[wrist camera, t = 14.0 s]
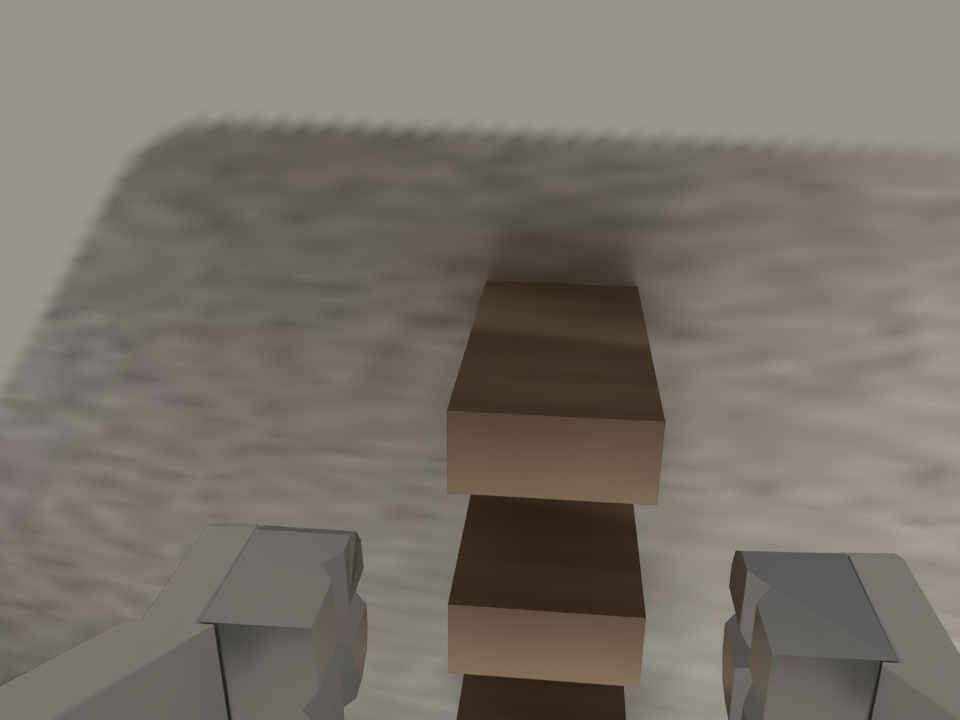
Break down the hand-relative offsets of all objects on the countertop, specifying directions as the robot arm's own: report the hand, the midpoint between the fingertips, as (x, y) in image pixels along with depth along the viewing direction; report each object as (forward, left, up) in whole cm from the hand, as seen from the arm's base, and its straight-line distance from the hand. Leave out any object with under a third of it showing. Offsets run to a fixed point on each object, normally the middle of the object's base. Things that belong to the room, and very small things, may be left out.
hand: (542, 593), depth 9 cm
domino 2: (-5, -9, -21) cm, 23 cm away
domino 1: (-2, -4, -21) cm, 22 cm away
